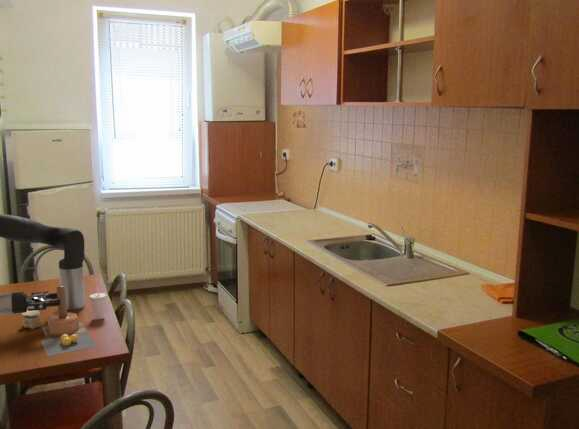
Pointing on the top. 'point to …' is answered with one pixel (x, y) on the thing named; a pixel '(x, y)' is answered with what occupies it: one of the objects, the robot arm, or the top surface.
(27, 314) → the beige piece
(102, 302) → the smoothie
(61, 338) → the amber marble
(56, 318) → the peg on base plate
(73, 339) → the amber marble
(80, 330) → the clear flat panel
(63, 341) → the amber marble
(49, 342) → the slate mat
